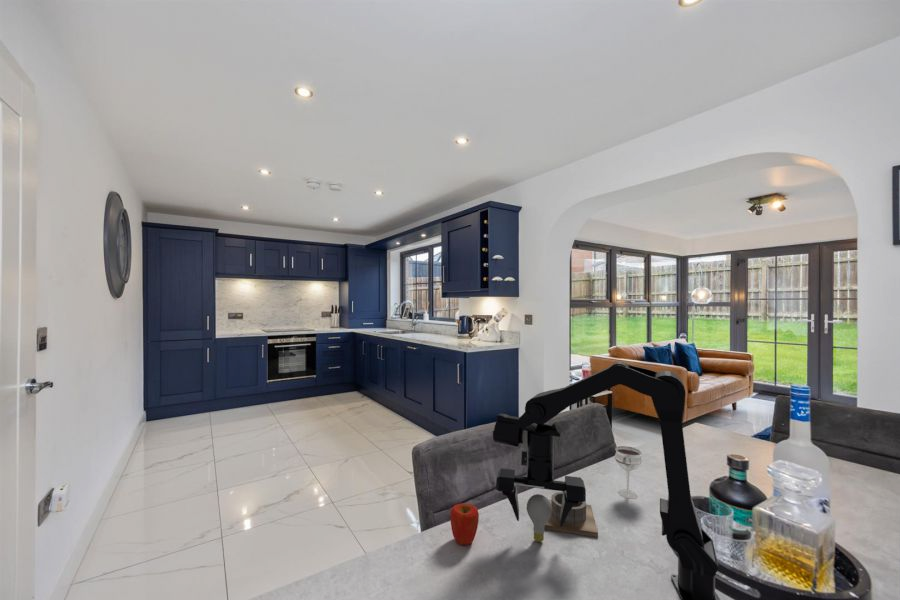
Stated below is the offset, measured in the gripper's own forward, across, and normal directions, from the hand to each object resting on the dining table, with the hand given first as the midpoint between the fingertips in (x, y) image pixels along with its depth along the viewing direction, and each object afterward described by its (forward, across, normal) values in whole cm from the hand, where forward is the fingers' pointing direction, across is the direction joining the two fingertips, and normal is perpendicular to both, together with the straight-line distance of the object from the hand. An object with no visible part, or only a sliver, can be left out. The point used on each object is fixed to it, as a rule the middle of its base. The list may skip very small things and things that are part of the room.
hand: (539, 522), depth 84 cm
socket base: (+4, -7, -11) cm, 14 cm away
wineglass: (+4, -24, -28) cm, 37 cm away
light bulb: (+4, 0, 0) cm, 4 cm away
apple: (+4, +16, +4) cm, 17 cm away
